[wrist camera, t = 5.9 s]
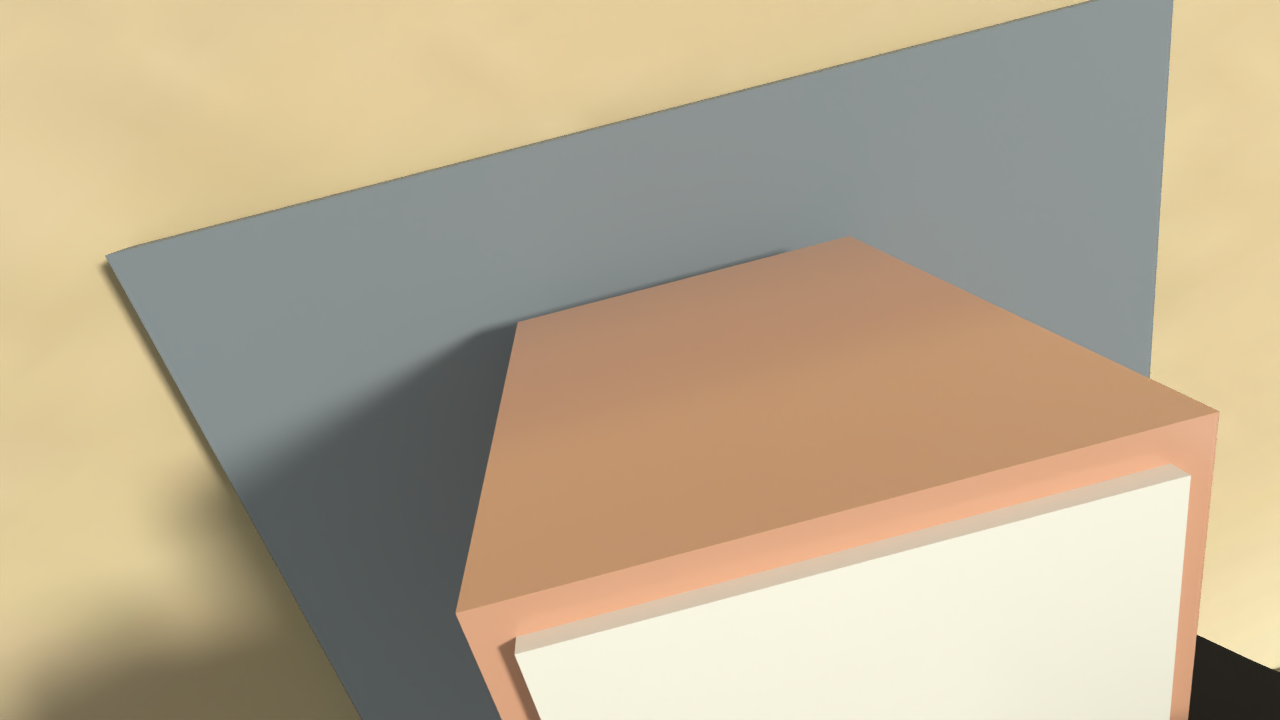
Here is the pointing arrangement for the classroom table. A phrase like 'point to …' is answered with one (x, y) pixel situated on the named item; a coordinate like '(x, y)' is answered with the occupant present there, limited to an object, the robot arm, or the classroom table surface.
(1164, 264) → the classroom table surface
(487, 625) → the brick
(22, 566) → the classroom table surface
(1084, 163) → the mat
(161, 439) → the classroom table surface
